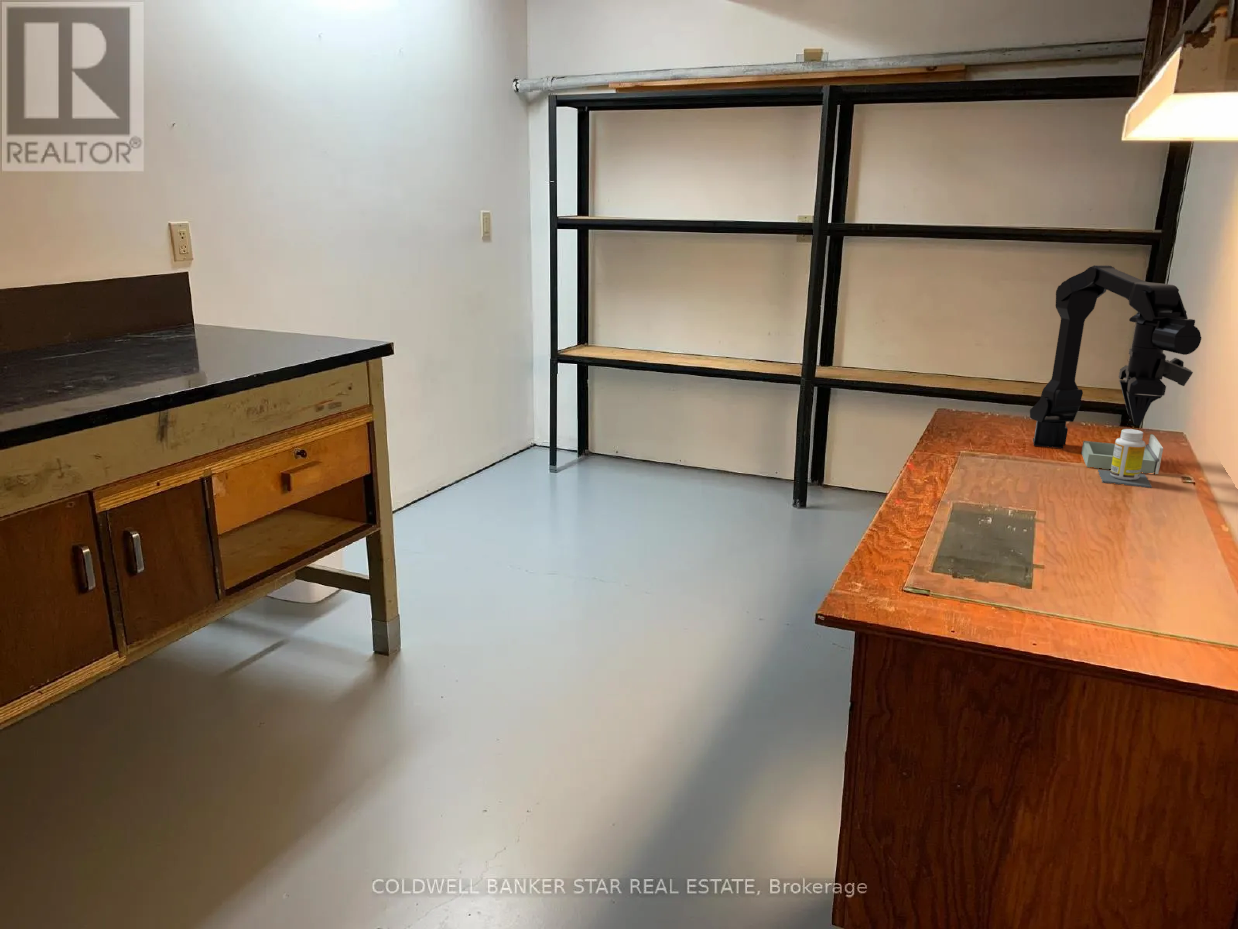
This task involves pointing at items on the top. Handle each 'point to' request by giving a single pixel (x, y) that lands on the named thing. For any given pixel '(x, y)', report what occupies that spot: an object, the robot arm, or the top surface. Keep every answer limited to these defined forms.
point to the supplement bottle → (1128, 455)
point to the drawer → (1103, 452)
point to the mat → (1108, 478)
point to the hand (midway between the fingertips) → (1133, 420)
